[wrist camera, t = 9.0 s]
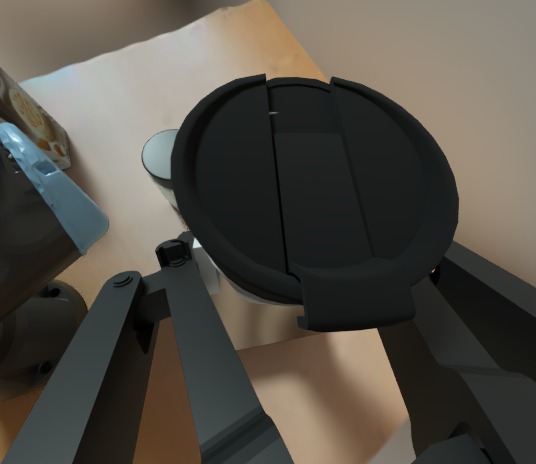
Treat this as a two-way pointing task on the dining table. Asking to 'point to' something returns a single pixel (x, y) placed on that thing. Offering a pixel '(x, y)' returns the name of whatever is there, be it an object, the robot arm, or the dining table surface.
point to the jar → (160, 162)
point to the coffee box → (32, 121)
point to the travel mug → (315, 197)
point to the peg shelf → (256, 319)
